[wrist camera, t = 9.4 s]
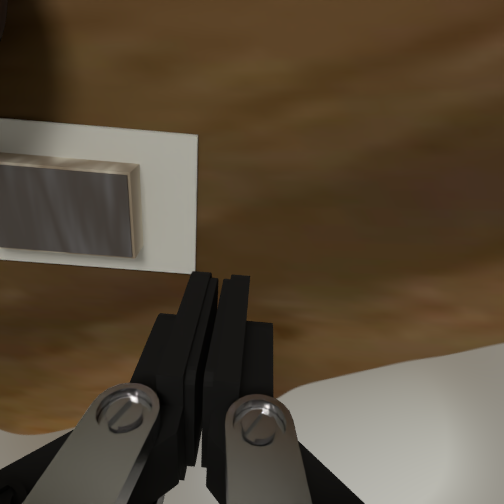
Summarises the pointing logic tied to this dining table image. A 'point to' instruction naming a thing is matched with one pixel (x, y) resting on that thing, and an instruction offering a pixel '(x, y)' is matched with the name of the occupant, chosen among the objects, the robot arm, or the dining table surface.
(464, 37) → the dining table surface
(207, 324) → the robot arm
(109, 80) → the dining table surface
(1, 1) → the wooden sphere
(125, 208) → the ash tile
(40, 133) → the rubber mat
